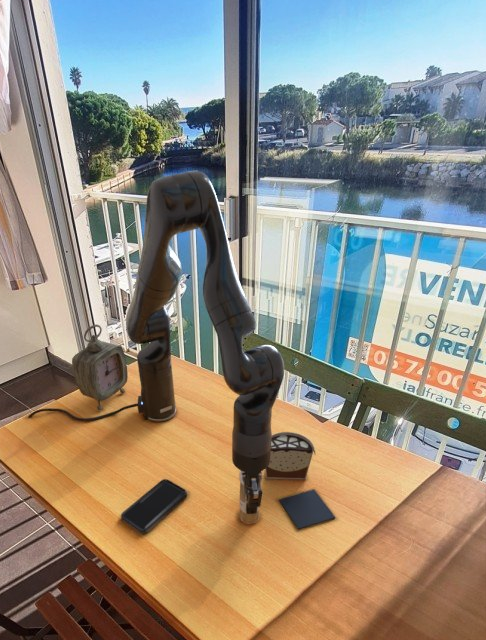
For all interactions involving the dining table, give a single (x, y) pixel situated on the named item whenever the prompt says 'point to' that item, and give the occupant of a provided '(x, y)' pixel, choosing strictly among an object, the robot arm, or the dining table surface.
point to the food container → (289, 456)
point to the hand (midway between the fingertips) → (249, 503)
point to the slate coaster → (306, 509)
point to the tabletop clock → (100, 369)
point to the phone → (154, 506)
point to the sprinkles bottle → (242, 514)
